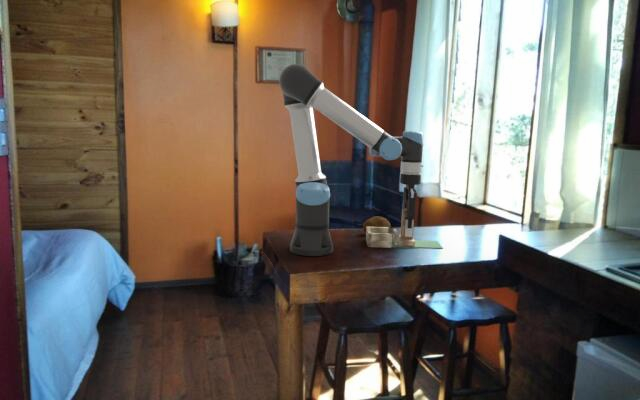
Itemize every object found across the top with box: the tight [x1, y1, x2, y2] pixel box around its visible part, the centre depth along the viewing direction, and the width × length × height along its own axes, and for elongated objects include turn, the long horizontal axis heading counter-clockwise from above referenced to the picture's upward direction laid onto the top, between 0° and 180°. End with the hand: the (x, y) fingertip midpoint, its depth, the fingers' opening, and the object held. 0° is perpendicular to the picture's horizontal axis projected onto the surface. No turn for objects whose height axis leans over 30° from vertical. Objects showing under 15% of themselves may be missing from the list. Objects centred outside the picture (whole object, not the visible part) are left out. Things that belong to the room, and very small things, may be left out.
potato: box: [362, 215, 391, 234], centre depth 208 cm, size 8×12×8 cm, turn 122°
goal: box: [365, 227, 393, 249], centre depth 195 cm, size 9×12×5 cm
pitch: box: [391, 239, 444, 250], centre depth 195 cm, size 26×10×1 cm, turn 89°
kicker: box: [392, 207, 416, 246], centre depth 194 cm, size 7×10×13 cm
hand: (407, 234), depth 194 cm, fingers open, 6 cm apart
